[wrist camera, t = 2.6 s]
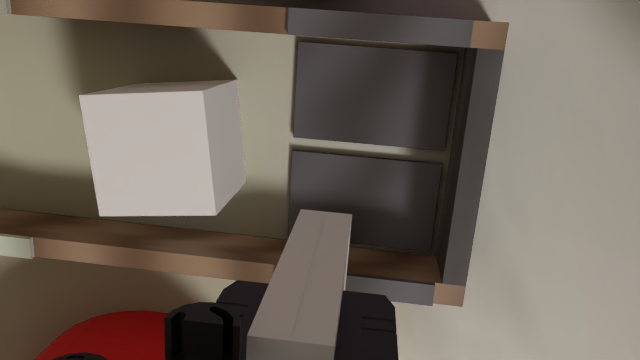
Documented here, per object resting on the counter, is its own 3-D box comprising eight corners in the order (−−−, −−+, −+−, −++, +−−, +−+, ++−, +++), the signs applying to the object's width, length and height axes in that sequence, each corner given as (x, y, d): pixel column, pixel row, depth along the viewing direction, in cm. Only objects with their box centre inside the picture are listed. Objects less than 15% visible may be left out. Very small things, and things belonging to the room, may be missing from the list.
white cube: (151, 183, 31) (98, 216, 26) (136, 83, 30) (77, 95, 24) (247, 181, 31) (216, 215, 25) (238, 79, 29) (202, 90, 23)
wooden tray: (492, 23, 27) (510, 22, 23) (453, 276, 31) (463, 309, 27) (-145, -20, 30) (-218, -28, 26) (-104, 214, 34) (-162, 236, 30)
